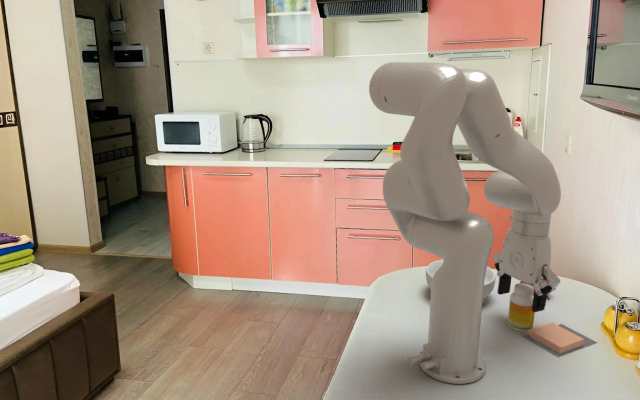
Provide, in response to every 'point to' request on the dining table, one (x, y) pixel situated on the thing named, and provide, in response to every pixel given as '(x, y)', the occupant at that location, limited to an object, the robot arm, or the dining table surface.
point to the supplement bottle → (521, 308)
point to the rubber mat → (586, 343)
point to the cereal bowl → (488, 281)
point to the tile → (556, 338)
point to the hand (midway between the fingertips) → (520, 301)
